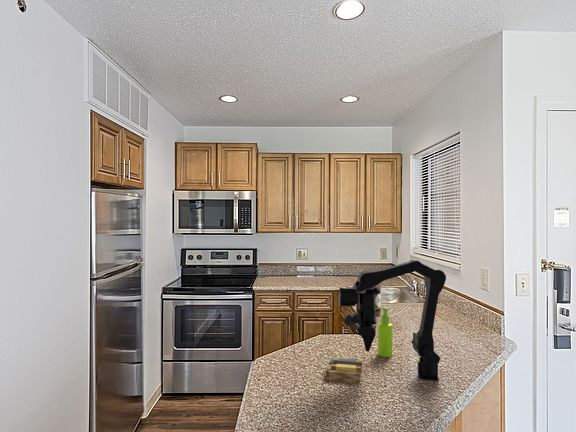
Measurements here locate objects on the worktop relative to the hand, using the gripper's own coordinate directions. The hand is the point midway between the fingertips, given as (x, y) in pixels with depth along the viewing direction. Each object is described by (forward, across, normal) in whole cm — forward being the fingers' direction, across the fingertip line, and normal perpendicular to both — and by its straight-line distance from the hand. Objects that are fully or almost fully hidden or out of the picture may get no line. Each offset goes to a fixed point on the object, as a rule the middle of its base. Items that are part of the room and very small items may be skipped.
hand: (367, 348), depth 152 cm
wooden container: (+11, -106, -4) cm, 106 cm away
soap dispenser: (+11, -27, +6) cm, 30 cm away
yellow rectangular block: (+9, +3, -8) cm, 12 cm away
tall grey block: (+9, -4, -8) cm, 12 cm away
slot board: (+10, 0, -9) cm, 13 cm away
